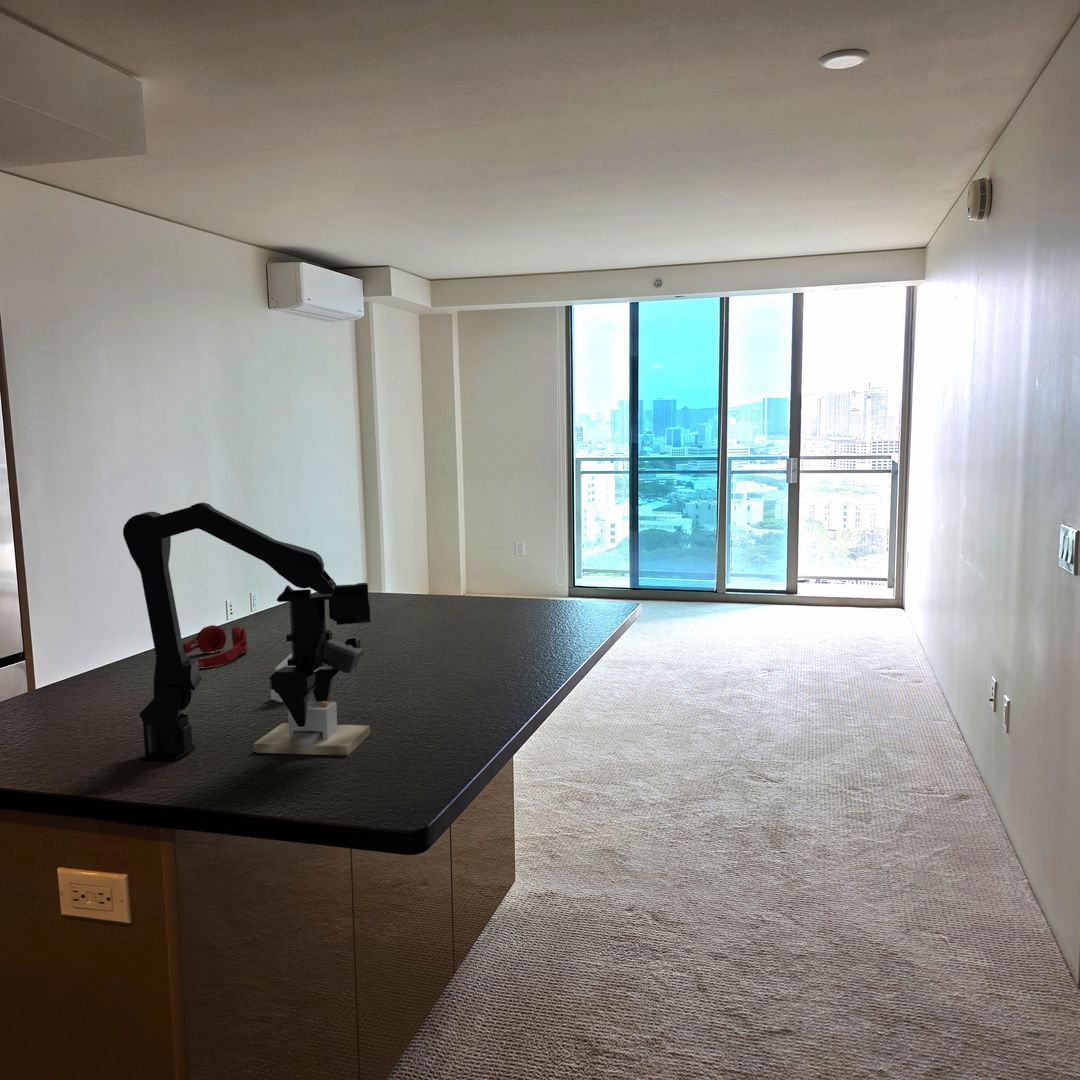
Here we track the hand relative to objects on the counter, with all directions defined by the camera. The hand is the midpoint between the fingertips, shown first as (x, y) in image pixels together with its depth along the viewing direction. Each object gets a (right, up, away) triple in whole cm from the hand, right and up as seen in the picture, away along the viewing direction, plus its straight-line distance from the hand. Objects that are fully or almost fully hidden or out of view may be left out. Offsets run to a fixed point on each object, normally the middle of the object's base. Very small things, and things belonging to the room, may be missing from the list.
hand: (312, 718), depth 152 cm
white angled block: (-12, -2, +29) cm, 31 cm away
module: (0, -3, 0) cm, 3 cm away
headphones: (-40, +1, +64) cm, 76 cm away
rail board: (0, -4, 0) cm, 4 cm away
